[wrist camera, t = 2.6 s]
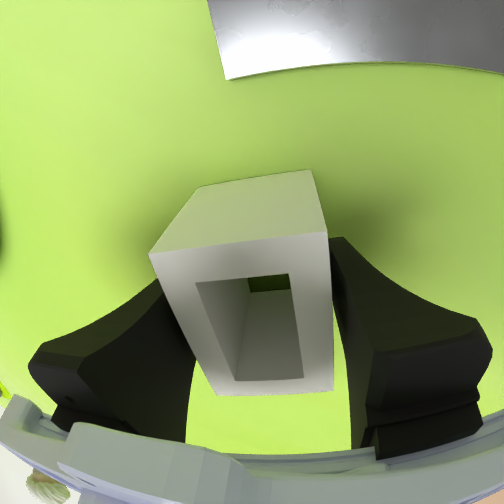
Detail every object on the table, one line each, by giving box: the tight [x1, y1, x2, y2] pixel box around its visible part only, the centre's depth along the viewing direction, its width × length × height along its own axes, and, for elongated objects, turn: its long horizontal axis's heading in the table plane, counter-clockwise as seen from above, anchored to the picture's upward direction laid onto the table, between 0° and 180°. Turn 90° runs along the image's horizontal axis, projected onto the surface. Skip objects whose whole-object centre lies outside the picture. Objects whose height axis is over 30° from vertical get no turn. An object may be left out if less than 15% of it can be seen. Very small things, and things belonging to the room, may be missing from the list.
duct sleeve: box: [148, 169, 334, 396], centre depth 11 cm, size 6×4×5 cm
